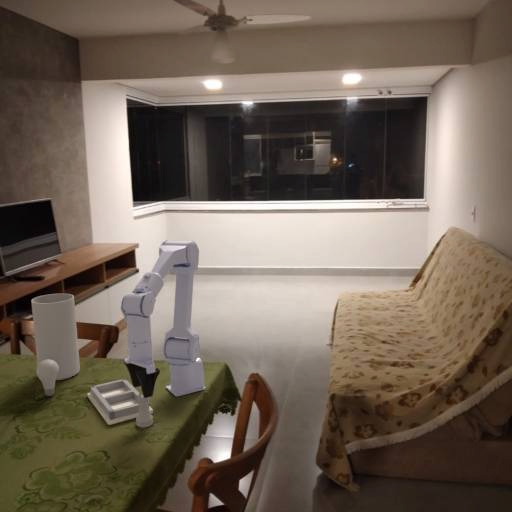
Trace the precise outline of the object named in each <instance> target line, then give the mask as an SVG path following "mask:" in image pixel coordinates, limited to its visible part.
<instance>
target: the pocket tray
mask: <svg viewBox="0 0 512 512" xmlns="http://www.w3.org/2000/svg"><path fill="white" fill-rule="evenodd" d="M89 389H90V390H89V391H90V392H87V399H88V400H89V401H90V402H91V404H92V405H93V406H94V407H95V409H96V410H97V411H98V413H99V414H100V415H101V417H102V418H103V420H104V421H105V422H106V424H107V425H108V426H112V425H115V424H118V423H122V422H125V421H128V420H133V419H136V418H137V417H138V414H139V405H138V404H139V401H138V400H137V398H138V395H139V394H141V393H140V392H139V391H138V390H137V389H136V387H135V388H134V387H133V384H132V383H130V381H128V380H127V379H126V378H121V379H118V380H117V379H116V380H113V381H108V382H104V383H99V384H95V385H91V386H89ZM149 411H150V413H151V414H153V413H154V409H153V408H152V407H151V406H150V405H149Z"/></svg>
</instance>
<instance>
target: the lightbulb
mask: <svg viewBox="0 0 512 512" xmlns="http://www.w3.org/2000/svg"><path fill="white" fill-rule="evenodd" d="M58 373H59V366H58V364H57V363H56V362H55V361H53V360H50V359H47V360H43V361H42V362H40V363H39V364H37V366H36V375H37V378H39V380H40V381H41V383H42V386H43V390H44V394H45V396H47V397H52V396H53V395H54V394H55V387H56V381H55V380H56V377H57V375H58Z"/></svg>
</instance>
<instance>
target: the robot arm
mask: <svg viewBox="0 0 512 512" xmlns="http://www.w3.org/2000/svg"><path fill="white" fill-rule="evenodd" d="M199 259H200V249H199V247H198V244H197V243H196V242H195V241H194V240H192V241H191V240H190V241H183V240H182V241H181V240H179V241H177V240H167V239H166V240H163V241H162V242H161V243H160V246H159V248H158V258H157V260H156V263H154V266H153V268H152V269H151V271H149V272H148V271H147V272H146V273H144V274H143V276H142V277H141V278H140V280H139V282H138V283H137V284H136V285H135V287H134V289H133V290H132V291H130V292H128V293H126V294H125V295H123V297H122V300H121V304H120V311H121V314H122V315H123V320H124V322H125V323H126V331H127V333H126V334H127V346H128V349H127V357H126V358H124V360H123V364H124V366H125V367H126V369H127V372H128V374H129V377H130V381H131V385H132V386H133V387H134V388H135V389H136V388H137V387H140V388H141V394H142V393H143V396H144V398H148V397H150V398H151V397H153V396H154V392H155V384H156V382H157V379H158V377H159V374H160V373H161V372H160V371H161V370H160V368H158V367H156V365H155V363H154V354H153V347H152V346H153V344H152V341H153V340H152V329H151V328H152V327H151V315H152V314H153V312H154V310H155V304H156V301H157V299H156V298H157V297H158V295H159V293H160V292H161V290H162V289H163V287H164V286H165V285H164V278H165V277H166V276H167V274H169V272H170V270H173V271H174V273H175V276H176V277H175V288H174V289H175V294H174V309H173V322H172V323H173V324H172V325H173V326H172V328H171V329H169V330H168V331H167V332H165V334H164V340H163V343H162V350H161V352H162V355H163V356H164V357H163V358H165V359H166V362H167V363H169V377H170V384H169V385H166V386H165V388H166V389H167V390H168V391H169V392H170V393H171V394H172V395H173V396H174V397H180V396H181V397H182V396H185V395H188V394H192V393H196V392H200V391H204V390H206V386H205V373H204V372H205V371H204V364H203V361H202V359H201V358H200V357H199V356H200V353H201V344H200V335H199V334H198V332H196V331H195V330H194V329H193V328H192V323H191V322H192V308H193V290H194V277H195V276H194V275H195V274H194V273H195V271H197V270H198V269H199Z"/></svg>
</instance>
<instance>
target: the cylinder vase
mask: <svg viewBox="0 0 512 512" xmlns="http://www.w3.org/2000/svg"><path fill="white" fill-rule="evenodd" d="M31 312H32V321H33V331H34V341H35V342H34V343H35V353H36V361H37V365H38V364H39V363H40V362H42V361H43V360H47V359H50V360H53V361H55V362H56V363H57V364H58V366H59V373H58V375H57V377H56V380H57V381H63V380H66V379H70V378H73V377H74V376H76V375H77V374H78V373H79V372H80V369H81V368H80V367H81V366H80V353H79V343H78V342H79V341H78V328H77V319H76V316H77V315H76V305H75V296H74V295H73V294H70V293H51V294H44V295H39V296H36V297H33V298H32V299H31ZM72 376H73V377H72ZM56 380H55V382H56Z"/></svg>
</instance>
